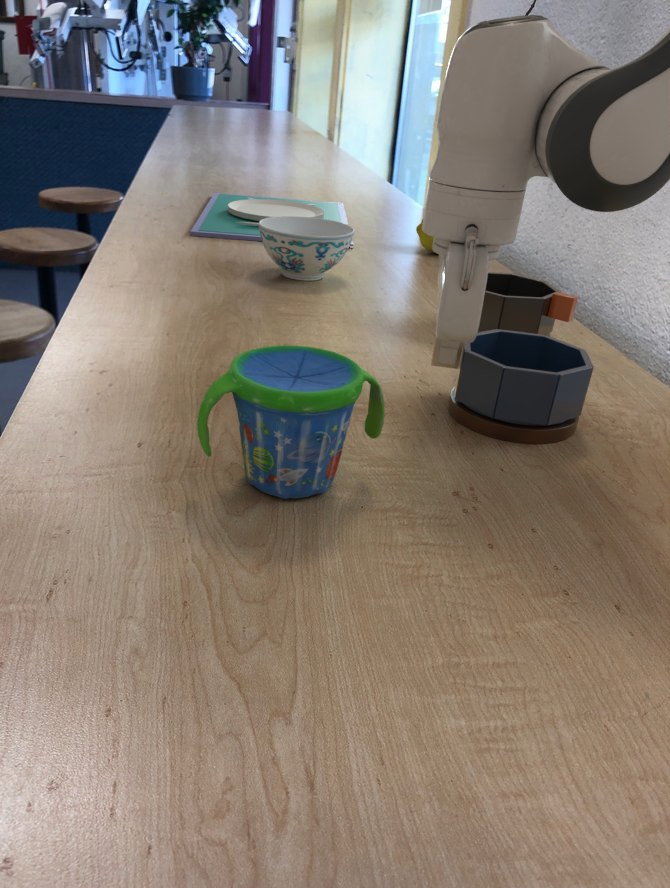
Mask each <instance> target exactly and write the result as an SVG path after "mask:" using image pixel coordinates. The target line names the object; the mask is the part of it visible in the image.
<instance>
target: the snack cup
mask: <svg viewBox="0 0 670 888" xmlns="http://www.w3.org/2000/svg"><path fill="white" fill-rule="evenodd" d="M365 382H367V383H368V384H369V396H368V405H367V414H366V417H365V420H364V432H365V434H366V435H367V436H368V437H369V438H371V439H372V440H373V439H378V438H379V437H380V435H381V433H382V431H383V428H384V422H385V421H384V420H385V399H384V393H383V388H382V387H381V385H380V383H379V382H378V380H377V379H375V377H373V375H372V374H370V373H369V372H368V371H366V370H365V369H364V368H362V367H361V366H360V364H358V363H357V362H356V361H354V360H353V359H352V358H349V357H348V356H346V355H343V354H340V353H338V352H335V351H332V350H328V349H324V348H319V347H314V346H306V345H292V344H291V345H289V344H282V345H280V344H279V345H267V346H262V347H261V346H260V347H256V348H253V349H249V350H246V351H244V352H241V353H240V354H238V355H237V356H235V357H234V358H233V359H232V360H231V363H230V366H229V369H228V371H227V372H225V373H224V374H222V375H221V376H219V377H218V378H217V379H216V380H214V381H213V382H212V384H211V385H210V386H209V388H208V389H207V391H206V392H205V394H204V396H203V398H202V400H201V403H200V406H199V410H198V413H197V421H196V431H197V437H198V440H199V444H200V447H201V449H202V451H203V452H204V454H205V455H206V457H208V458H209V457H212V448H211V445H210V430H209V425H208V421H209V416H210V413H211V411H212V409H213V408H214V406H216V404H217V403H218V402H219V401H220V400H221V399H222V398H223V396H225V395H226V394H229V393H231V394H232V398H233V401H234V404H235V407H236V412H237V413H236V414H237V419H238V424H239V427H238V428H239V429H238V430H239V436H240V437H239V438H240V446H241V454H242V461H243V469H244V473H245V477H246V480H247V483H248V484H249V485H251V486H254V487H255V488H256V489H257V490H259V491H260V492H262V493H265V494H267V495H270V496H273V497H277V498H279V499H283V500H288V499H302V498H308V497H311V496H314V495H317V494H324V493H326V492H327V491H328V489H329V488H330V487H331V485H332V483H333V481H334V480H335V478H336V474H337V471H338V467H339V465H340V460H341V456H342V453H343V448H344V444H345V440H346V438H347V433H348V429H349V428H350V427H349V426H350V424H351V418H352V413H353V410H354V407H355V404H356V401H357V400H358V398H359V397H360V396H361V394H362V390H363V387H364V383H365Z"/></svg>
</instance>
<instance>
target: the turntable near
mask: <svg viewBox="0 0 670 888" xmlns="http://www.w3.org/2000/svg"><path fill="white" fill-rule="evenodd" d="M447 409H448V412H449V415H450V416H451V417H452V418H453V419H454V420H455V421H456V422H458V423H459V424H460V425H462V426H464V427H465V428H467V429H470V430H472V431H473V432H476V433H479V434H481V435H484V436H486V437H490V438H493V439H497V440H501V441H506V442H512V443H519V444H520V443H521V444H534V445H535V444H540V445H541V444H543V445H544V444H552V443H558V442H562V441H564V440H567V439H569V438H571V437H572V436H573V435H574V434H575V432H576V430H577V427H578V424H579V420H580V416H579V417H576V418H572V419H569V420H567V421H565V422H562V423H559V424H555V425H547V426H529V425H519V424H513V423H507V422H503V421H499V420H495V419H492V418H489V417H486V416H483V415H481V414H479V413H476V412H474V411H473V410H471V409H469V408H468V407H466V406H465V405H464V404H463V403H461V402H459V401H457V400H456V399H455V386H453V388H452V389H451V390H450V394H449V399H448V405H447Z"/></svg>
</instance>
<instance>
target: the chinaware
mask: <svg viewBox="0 0 670 888" xmlns="http://www.w3.org/2000/svg"><path fill="white" fill-rule="evenodd" d="M259 230H260V235H261V239H262V241H261V242H262V245H263V248H264V250H265V251H266V253H267V256H269V258H270V259H271V261H273V262H274V264H275V265H276V266H278V267H279V268H280V269H281V274H282V276H284V277H285V278H288V279H291V280H297V281H306V282H308V281H309V282H310V281H312V282H313V281H318V280H322V279H323V278H324V277H325V272H327V271H329V270H331V269H333V268H334V267H335V266H336V265H337V264H339V262H341V261H342V259H343V258H344V257H345V255H346V253H347V252H348V250H349V249H350V248H349V246H350V244H351V241H352V242H353V237H354V235H355V228H354V227H352V226H350V225H349V224H348V225H347V224H344V223H340V222H337V221H332V220H327V219H320V218H312V217H299V216H279V217H270V218H265V219H262V220H260V221H259ZM321 278H322V279H321Z"/></svg>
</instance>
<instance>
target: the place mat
mask: <svg viewBox="0 0 670 888" xmlns="http://www.w3.org/2000/svg"><path fill="white" fill-rule="evenodd" d="M279 216H299V217H312V218H320V219H327V220H332V221H337V222H340V223H344V224H347V225H349V222H348V217H347V214H346V209H345V206H344V203H343V202H335V201H319V200H308V199H296V198H285V197H284V198H283V197H273V196H272V197H270V196H261V195H260V196H258V195H247V194H233V193H222V192H220V193H219V192H214V193H213V194H212V196H211V197H210V199H209V200H208V203H207V204H206V206H205V207H204V209H203V210H202V211H201V213H200V215H199V217H198V218H197V220H196V221H195V223H194V225H193V227H192V228H191V229H190V231H189V232H190V235H189V236H190V237H191V236H192V237H201V238H213V239H215V238H216V239H228V240H240V241H253V242H262V239H261V235H260V230H259V221H260V220H262V219H265V218H270V217H279ZM350 246H353V247H354V242H353V240H352V241H351V244H350Z"/></svg>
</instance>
